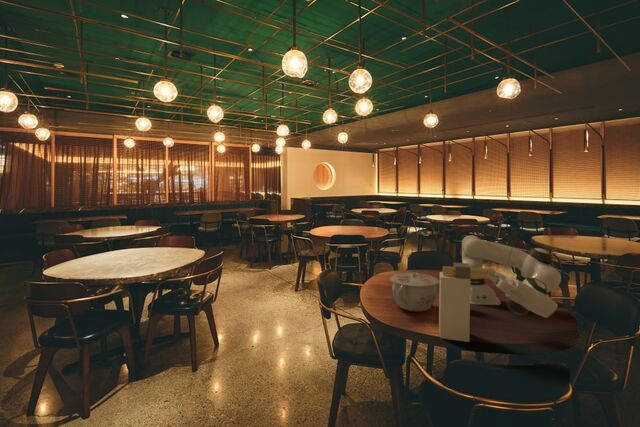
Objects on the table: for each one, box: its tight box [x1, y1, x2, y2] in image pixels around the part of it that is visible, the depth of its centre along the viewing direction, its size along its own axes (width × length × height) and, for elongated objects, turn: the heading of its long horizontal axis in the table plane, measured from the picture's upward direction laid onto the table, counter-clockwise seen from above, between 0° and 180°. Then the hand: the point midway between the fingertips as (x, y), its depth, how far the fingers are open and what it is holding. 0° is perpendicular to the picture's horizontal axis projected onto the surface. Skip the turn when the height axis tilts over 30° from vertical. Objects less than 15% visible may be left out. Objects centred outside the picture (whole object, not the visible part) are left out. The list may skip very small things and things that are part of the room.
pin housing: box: [438, 262, 471, 343], centre depth 140 cm, size 12×10×33 cm
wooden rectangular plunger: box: [442, 265, 496, 280], centre depth 138 cm, size 21×4×4 cm, turn 71°
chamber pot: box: [389, 271, 440, 313], centre depth 175 cm, size 28×28×21 cm
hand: (484, 272), depth 135 cm, fingers open, 4 cm apart
